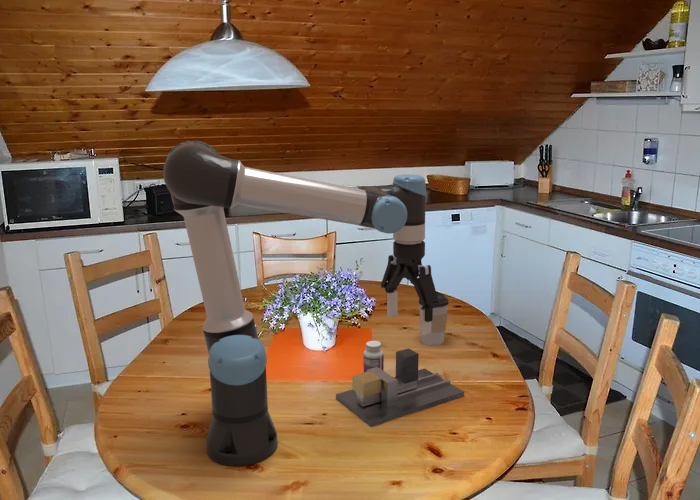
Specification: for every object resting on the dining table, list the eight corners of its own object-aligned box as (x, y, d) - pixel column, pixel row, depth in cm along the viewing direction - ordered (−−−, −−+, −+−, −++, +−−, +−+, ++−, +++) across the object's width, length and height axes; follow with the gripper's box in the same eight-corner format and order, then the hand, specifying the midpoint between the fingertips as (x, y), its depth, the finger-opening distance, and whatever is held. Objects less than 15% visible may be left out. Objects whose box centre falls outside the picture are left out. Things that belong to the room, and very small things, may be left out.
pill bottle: (371, 370, 169) (371, 337, 166) (387, 376, 166) (387, 342, 163) (359, 377, 165) (359, 344, 162) (375, 383, 161) (375, 348, 159)
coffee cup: (447, 347, 184) (448, 300, 180) (417, 345, 185) (417, 298, 182) (447, 336, 193) (448, 290, 189) (418, 334, 194) (419, 289, 190)
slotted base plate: (424, 372, 167) (425, 346, 166) (464, 395, 154) (465, 368, 152) (335, 398, 153) (335, 370, 151) (371, 426, 140) (371, 396, 138)
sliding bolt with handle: (408, 384, 157) (408, 348, 155) (417, 390, 154) (418, 353, 151) (355, 400, 149) (355, 362, 147) (364, 407, 146) (364, 368, 143)
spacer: (363, 397, 144) (363, 383, 143) (352, 389, 148) (352, 375, 148) (381, 392, 147) (381, 378, 146) (369, 384, 151) (369, 371, 150)
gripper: (456, 248, 137) (453, 337, 142) (391, 229, 157) (391, 307, 162) (429, 253, 133) (428, 344, 138) (367, 233, 154) (367, 313, 159)
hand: (408, 325), depth 150 cm, fingers open, 13 cm apart
